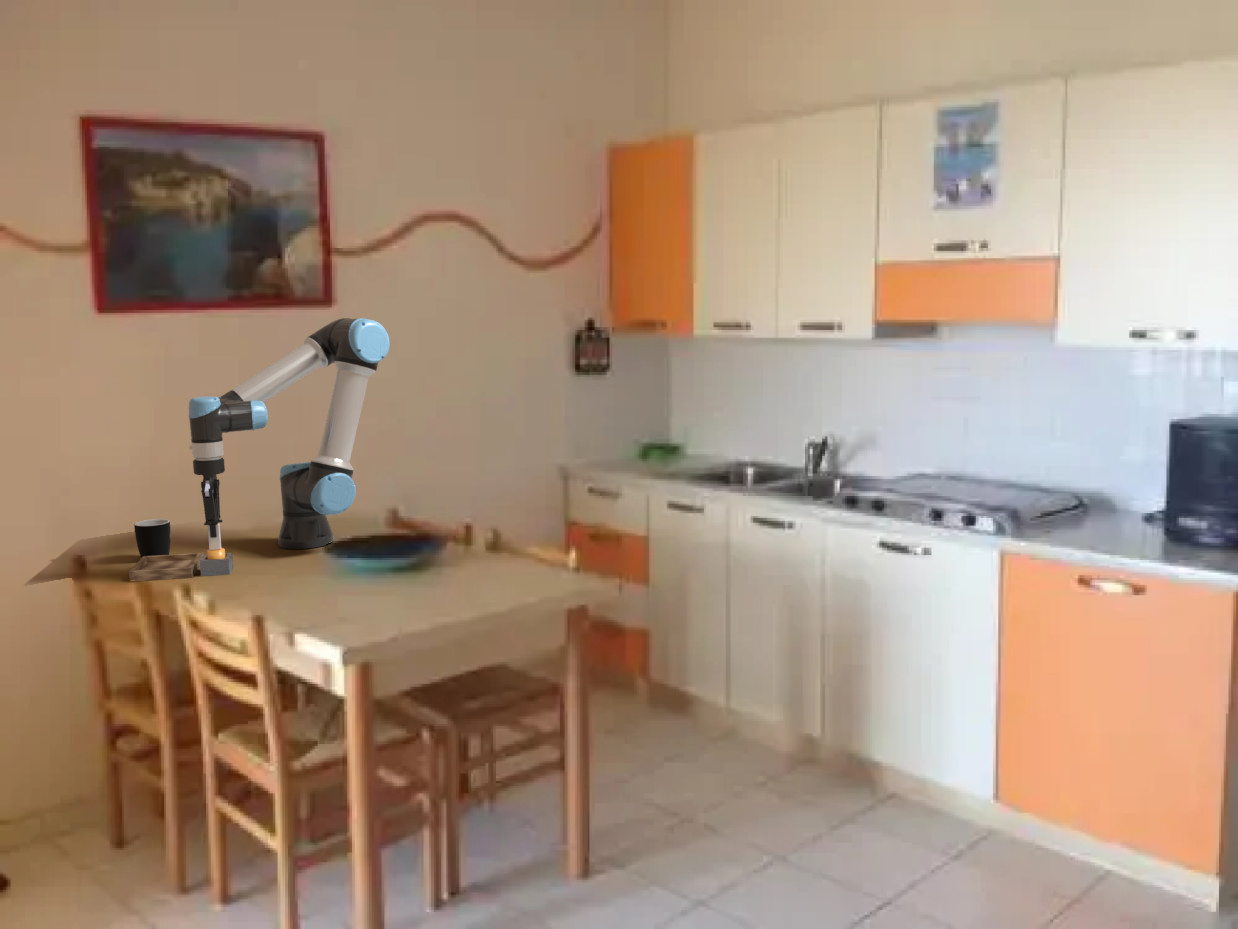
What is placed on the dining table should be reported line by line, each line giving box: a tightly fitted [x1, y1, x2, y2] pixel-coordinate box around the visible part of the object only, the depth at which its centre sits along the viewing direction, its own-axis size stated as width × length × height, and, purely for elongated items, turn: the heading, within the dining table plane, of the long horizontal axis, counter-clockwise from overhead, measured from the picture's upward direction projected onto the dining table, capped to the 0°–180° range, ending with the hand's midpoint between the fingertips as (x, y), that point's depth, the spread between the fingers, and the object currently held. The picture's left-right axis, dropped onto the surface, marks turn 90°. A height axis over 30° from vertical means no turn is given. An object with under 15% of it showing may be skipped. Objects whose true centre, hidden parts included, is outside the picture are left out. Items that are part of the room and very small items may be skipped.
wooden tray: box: [128, 552, 204, 582], centre depth 312 cm, size 15×17×2 cm
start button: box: [206, 547, 226, 559], centre depth 310 cm, size 4×4×5 cm
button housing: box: [199, 552, 234, 577], centre depth 310 cm, size 7×7×4 cm
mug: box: [134, 518, 171, 559], centre depth 327 cm, size 12×9×10 cm
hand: (215, 548), depth 309 cm, fingers closed
